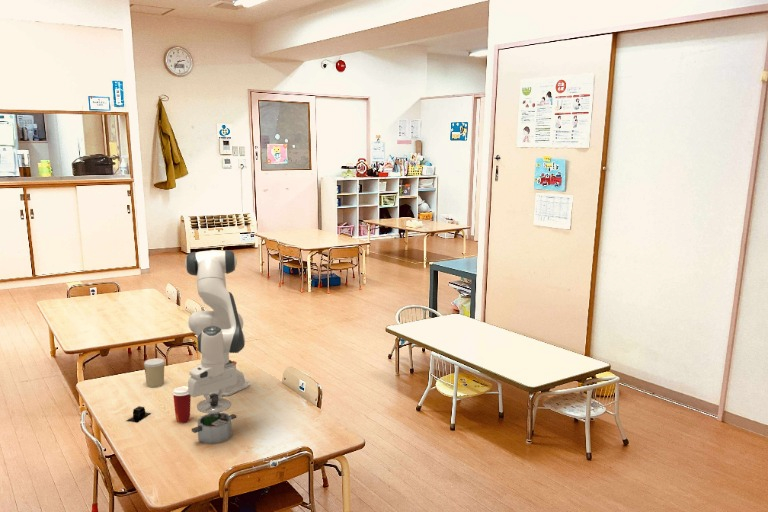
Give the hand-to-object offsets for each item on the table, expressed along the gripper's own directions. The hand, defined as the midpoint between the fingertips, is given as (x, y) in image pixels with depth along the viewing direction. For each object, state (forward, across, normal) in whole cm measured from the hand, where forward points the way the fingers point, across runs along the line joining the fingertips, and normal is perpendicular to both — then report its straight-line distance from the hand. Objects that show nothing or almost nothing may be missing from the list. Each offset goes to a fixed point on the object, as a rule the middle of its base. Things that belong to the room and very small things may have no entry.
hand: (213, 400), depth 236 cm
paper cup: (+15, +2, -22) cm, 27 cm away
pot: (+15, 0, 0) cm, 15 cm away
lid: (+2, 0, 0) cm, 2 cm away
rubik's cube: (+15, -3, 0) cm, 16 cm away
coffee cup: (+15, -8, -67) cm, 69 cm away
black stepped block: (+16, +13, -38) cm, 43 cm away
